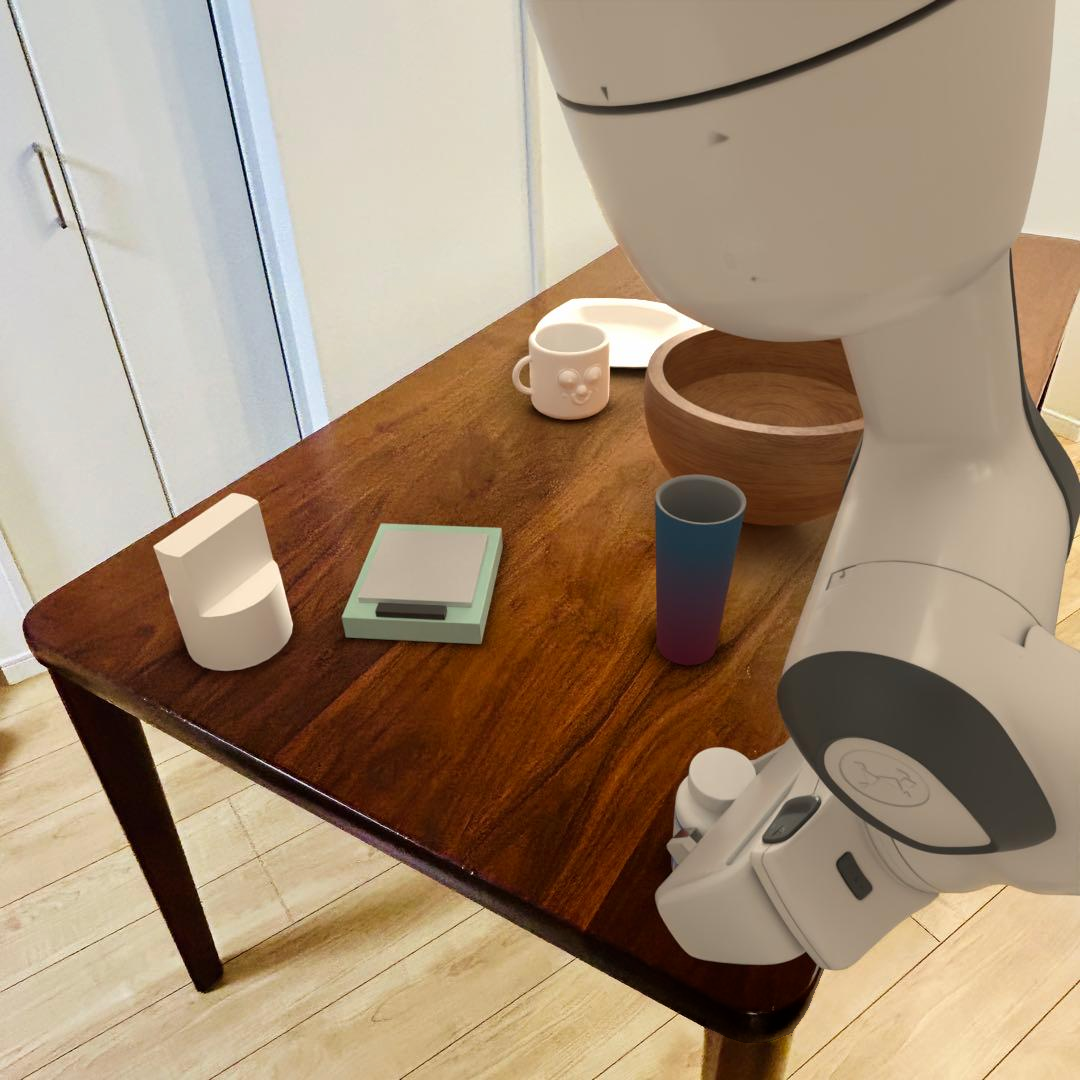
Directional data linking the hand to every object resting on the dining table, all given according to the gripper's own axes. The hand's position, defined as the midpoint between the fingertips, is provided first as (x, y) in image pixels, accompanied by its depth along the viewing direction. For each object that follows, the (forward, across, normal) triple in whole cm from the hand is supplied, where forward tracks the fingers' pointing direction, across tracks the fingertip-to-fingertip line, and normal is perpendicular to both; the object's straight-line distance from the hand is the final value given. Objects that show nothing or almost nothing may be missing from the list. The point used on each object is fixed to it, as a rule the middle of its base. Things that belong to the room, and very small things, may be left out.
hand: (709, 813), depth 57 cm
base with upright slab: (+35, +7, -27) cm, 44 cm away
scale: (+29, -8, -21) cm, 37 cm away
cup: (+13, -17, -5) cm, 22 cm away
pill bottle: (+4, 0, +4) cm, 6 cm away
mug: (+39, -42, -31) cm, 65 cm away
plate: (+43, -62, -36) cm, 83 cm away
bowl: (+18, -40, -10) cm, 44 cm away
